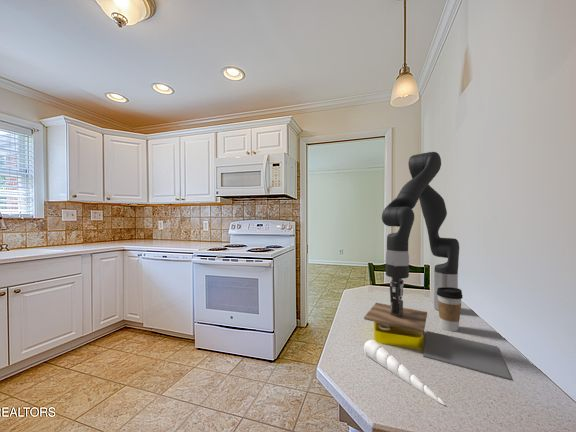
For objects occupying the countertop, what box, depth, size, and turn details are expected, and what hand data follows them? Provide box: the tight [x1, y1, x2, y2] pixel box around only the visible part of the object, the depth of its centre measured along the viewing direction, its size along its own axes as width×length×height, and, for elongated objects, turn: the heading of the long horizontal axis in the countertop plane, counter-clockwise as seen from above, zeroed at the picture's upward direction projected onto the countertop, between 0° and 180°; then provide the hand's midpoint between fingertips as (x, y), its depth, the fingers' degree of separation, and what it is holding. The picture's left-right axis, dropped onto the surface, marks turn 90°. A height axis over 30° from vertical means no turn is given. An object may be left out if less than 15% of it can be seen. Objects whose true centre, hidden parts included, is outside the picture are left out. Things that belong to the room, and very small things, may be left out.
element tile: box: [373, 321, 424, 350], centre depth 88 cm, size 15×15×5 cm
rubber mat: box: [422, 330, 512, 381], centre depth 78 cm, size 20×20×1 cm
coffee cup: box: [437, 287, 463, 332], centre depth 96 cm, size 8×8×15 cm
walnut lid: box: [363, 298, 428, 334], centre depth 89 cm, size 18×18×6 cm
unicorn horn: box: [363, 339, 446, 406], centre depth 65 cm, size 5×24×5 cm, turn 21°
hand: (396, 311), depth 89 cm, fingers closed on walnut lid, 4 cm apart
